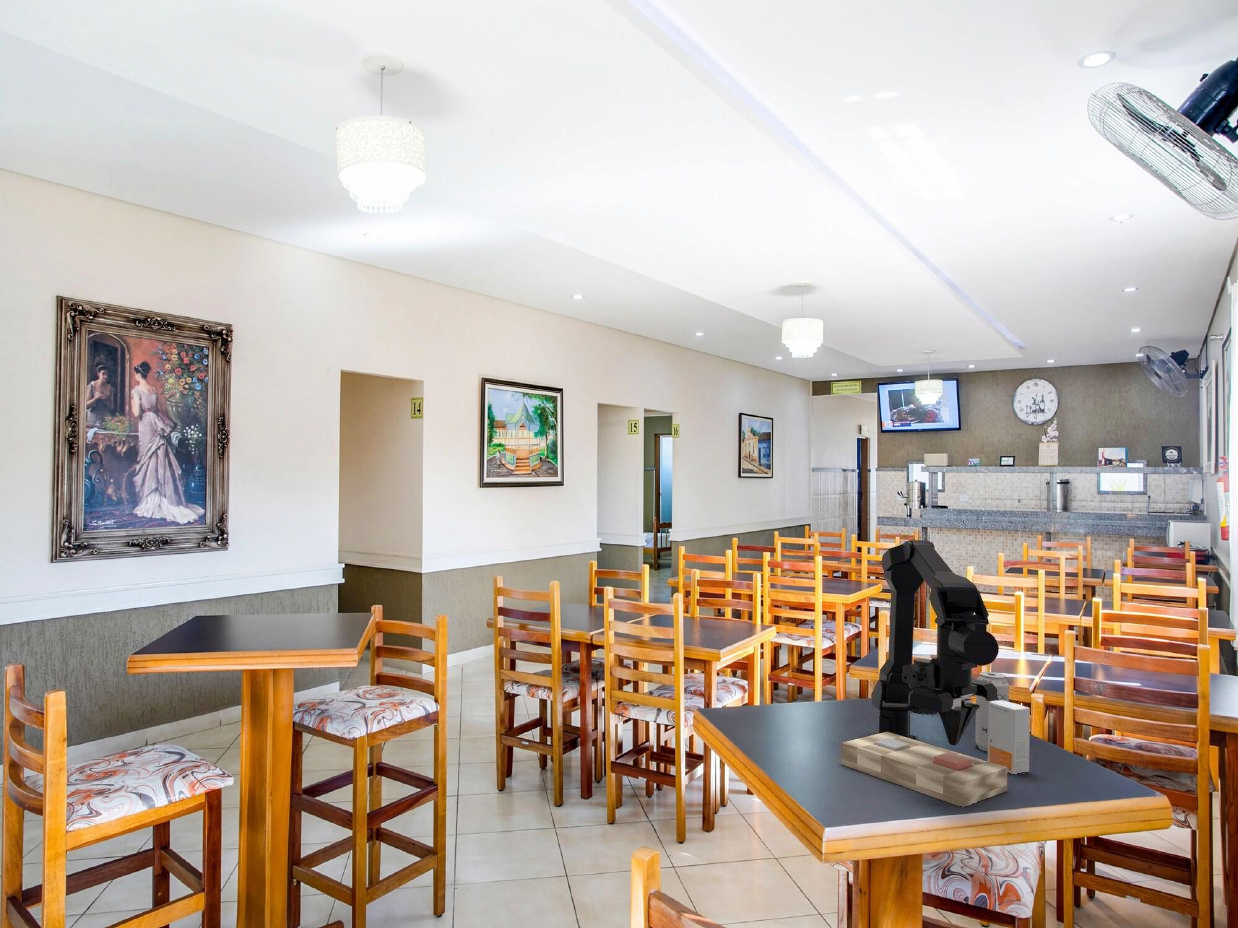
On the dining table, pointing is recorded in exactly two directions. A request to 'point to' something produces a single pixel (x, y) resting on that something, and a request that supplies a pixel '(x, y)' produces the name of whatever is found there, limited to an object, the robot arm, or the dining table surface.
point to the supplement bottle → (921, 664)
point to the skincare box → (1009, 735)
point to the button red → (952, 761)
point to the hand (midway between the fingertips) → (953, 744)
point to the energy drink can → (983, 711)
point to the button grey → (892, 744)
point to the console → (925, 769)
